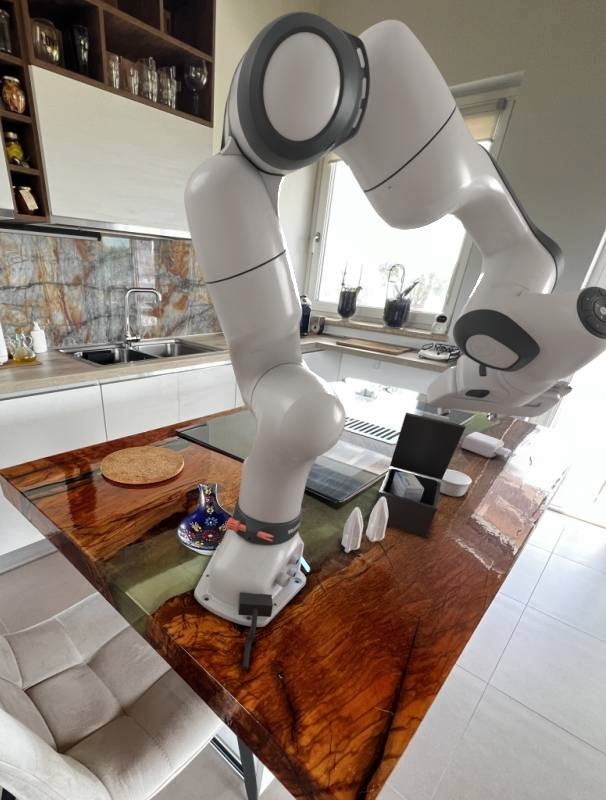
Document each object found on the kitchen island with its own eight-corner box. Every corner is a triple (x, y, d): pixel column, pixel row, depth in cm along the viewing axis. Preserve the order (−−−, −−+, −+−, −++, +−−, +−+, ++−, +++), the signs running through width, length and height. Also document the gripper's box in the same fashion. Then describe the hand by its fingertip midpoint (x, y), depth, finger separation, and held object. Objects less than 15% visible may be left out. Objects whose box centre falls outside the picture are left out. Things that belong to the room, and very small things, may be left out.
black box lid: (465, 427, 90) (468, 415, 92) (405, 414, 94) (409, 402, 96) (441, 479, 102) (445, 467, 104) (389, 465, 106) (394, 454, 109)
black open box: (425, 537, 94) (437, 508, 90) (370, 519, 99) (378, 491, 95) (430, 506, 106) (441, 480, 102) (381, 492, 111) (389, 466, 107)
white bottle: (506, 465, 133) (460, 448, 142) (516, 459, 138) (471, 443, 148) (512, 452, 131) (465, 435, 140) (523, 446, 136) (477, 430, 145)
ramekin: (434, 494, 112) (440, 480, 110) (429, 479, 120) (434, 466, 118) (469, 500, 111) (475, 486, 109) (461, 485, 118) (467, 472, 116)
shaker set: (376, 531, 95) (389, 489, 89) (389, 541, 92) (404, 499, 86) (334, 541, 90) (346, 498, 84) (346, 553, 87) (359, 509, 81)
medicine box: (413, 520, 99) (425, 488, 94) (395, 518, 99) (406, 487, 94) (402, 502, 105) (413, 472, 101) (385, 501, 105) (395, 471, 101)
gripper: (578, 367, 67) (518, 405, 80) (451, 353, 67) (413, 394, 80) (581, 402, 65) (520, 436, 79) (452, 388, 65) (413, 424, 79)
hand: (465, 415), depth 79 cm, fingers open, 8 cm apart
